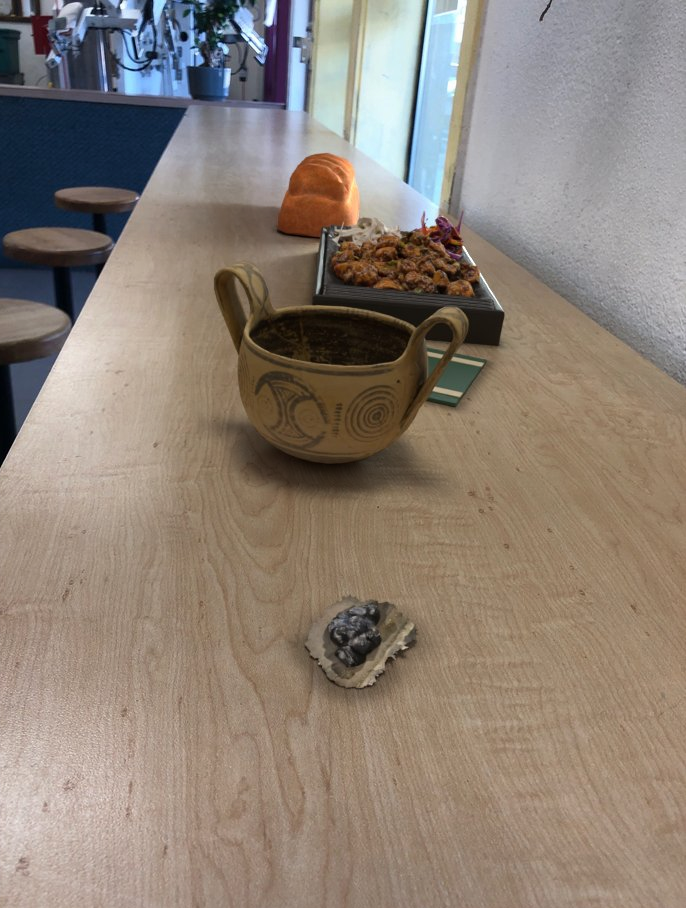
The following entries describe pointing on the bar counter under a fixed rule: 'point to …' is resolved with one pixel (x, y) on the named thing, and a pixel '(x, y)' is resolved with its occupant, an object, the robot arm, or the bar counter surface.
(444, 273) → the food platter
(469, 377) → the dish cloth
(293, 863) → the bar counter surface
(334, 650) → the dark lumps on shell
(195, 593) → the bar counter surface
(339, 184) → the bread
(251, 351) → the ceramic bowl
